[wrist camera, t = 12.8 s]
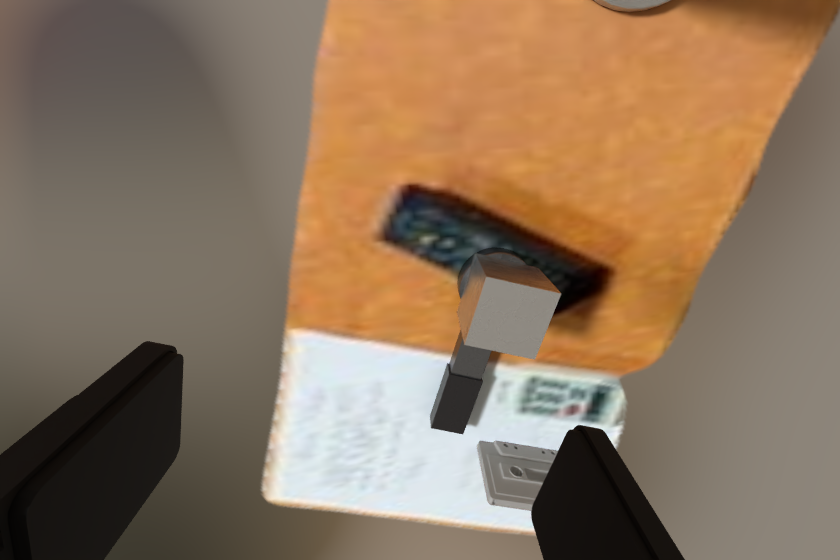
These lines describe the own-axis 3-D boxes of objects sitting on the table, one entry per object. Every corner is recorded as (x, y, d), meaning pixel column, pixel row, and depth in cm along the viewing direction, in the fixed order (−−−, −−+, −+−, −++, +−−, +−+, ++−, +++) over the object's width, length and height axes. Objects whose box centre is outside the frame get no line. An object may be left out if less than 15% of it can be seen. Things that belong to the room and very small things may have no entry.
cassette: (474, 449, 46) (486, 508, 39) (479, 436, 46) (491, 494, 39) (571, 464, 47) (599, 524, 40) (577, 452, 47) (606, 511, 40)
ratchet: (475, 424, 45) (483, 464, 40) (415, 412, 44) (415, 451, 39) (539, 257, 38) (560, 278, 33) (469, 239, 37) (479, 258, 32)
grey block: (474, 252, 35) (486, 276, 30) (538, 267, 36) (561, 293, 30) (456, 312, 37) (464, 344, 32) (516, 325, 38) (534, 359, 32)
